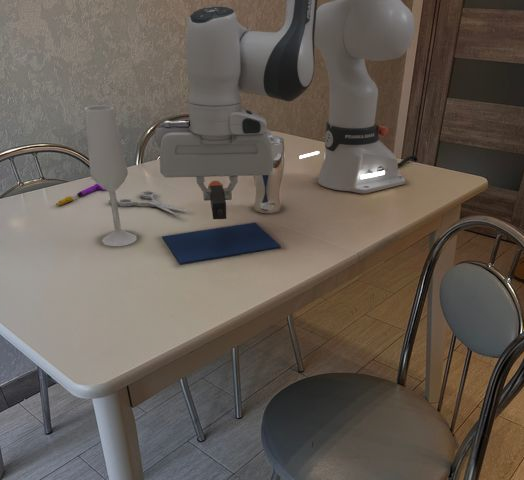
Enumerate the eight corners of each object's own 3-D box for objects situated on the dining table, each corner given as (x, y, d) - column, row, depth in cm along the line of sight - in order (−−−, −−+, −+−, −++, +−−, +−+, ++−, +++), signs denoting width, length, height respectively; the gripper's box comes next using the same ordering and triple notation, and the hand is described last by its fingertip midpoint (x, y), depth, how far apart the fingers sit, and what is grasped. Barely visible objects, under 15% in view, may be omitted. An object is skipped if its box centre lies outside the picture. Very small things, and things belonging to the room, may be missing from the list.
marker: (208, 195, 106) (207, 180, 104) (223, 195, 106) (222, 180, 105) (211, 221, 94) (211, 205, 93) (228, 221, 95) (228, 204, 93)
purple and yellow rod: (101, 185, 131) (55, 205, 120) (101, 180, 131) (55, 201, 119) (110, 189, 131) (64, 210, 119) (110, 184, 130) (64, 205, 118)
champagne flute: (137, 244, 103) (118, 111, 89) (101, 247, 102) (77, 112, 88) (136, 231, 108) (119, 103, 95) (102, 233, 107) (80, 104, 93)
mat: (255, 224, 112) (255, 222, 112) (280, 247, 102) (281, 245, 102) (162, 238, 106) (162, 236, 106) (180, 264, 96) (179, 262, 96)
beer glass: (245, 207, 120) (245, 138, 112) (269, 201, 124) (270, 133, 115) (265, 216, 116) (266, 144, 107) (289, 209, 119) (291, 139, 111)
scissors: (143, 188, 128) (204, 206, 118) (143, 191, 128) (205, 209, 118) (108, 200, 121) (170, 220, 111) (108, 203, 121) (170, 223, 111)
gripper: (153, 124, 87) (160, 206, 95) (276, 123, 90) (273, 203, 98) (154, 116, 93) (161, 195, 100) (270, 115, 95) (268, 192, 103)
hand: (217, 199), depth 99 cm, fingers closed on marker, 2 cm apart
